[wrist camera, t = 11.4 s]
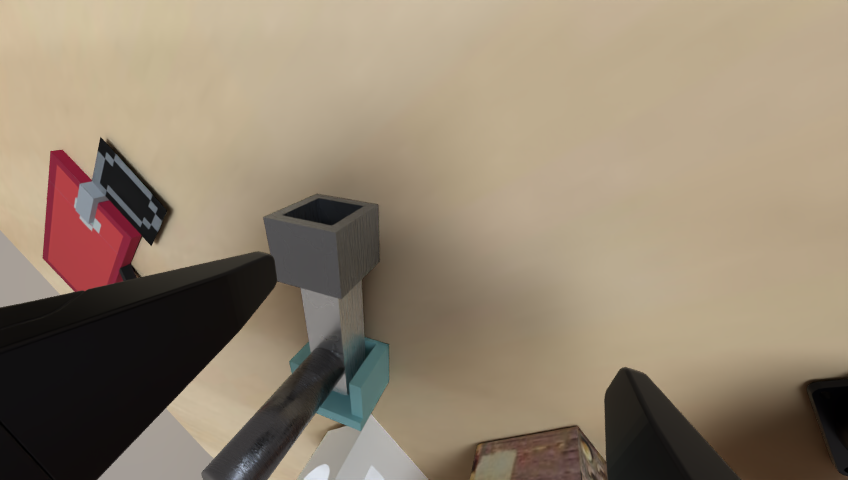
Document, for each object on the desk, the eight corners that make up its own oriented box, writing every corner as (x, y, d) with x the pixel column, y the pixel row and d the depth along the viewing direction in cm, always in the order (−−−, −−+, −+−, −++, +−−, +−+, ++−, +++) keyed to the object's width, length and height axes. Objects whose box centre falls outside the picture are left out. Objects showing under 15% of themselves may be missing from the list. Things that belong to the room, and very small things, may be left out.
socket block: (325, 324, 29) (285, 365, 24) (388, 344, 27) (358, 392, 22) (329, 360, 31) (293, 403, 26) (389, 381, 29) (360, 431, 24)
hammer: (324, 244, 23) (147, 364, 13) (360, 252, 22) (200, 388, 12) (336, 357, 28) (216, 507, 18) (366, 368, 27) (257, 531, 17)
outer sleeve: (316, 193, 23) (263, 217, 19) (378, 204, 21) (335, 232, 17) (322, 248, 25) (275, 280, 21) (379, 261, 23) (341, 299, 19)
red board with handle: (191, 223, 30) (75, 94, 28) (159, 234, 27) (31, 94, 26) (132, 333, 45) (56, 253, 44) (108, 346, 43) (27, 263, 42)
